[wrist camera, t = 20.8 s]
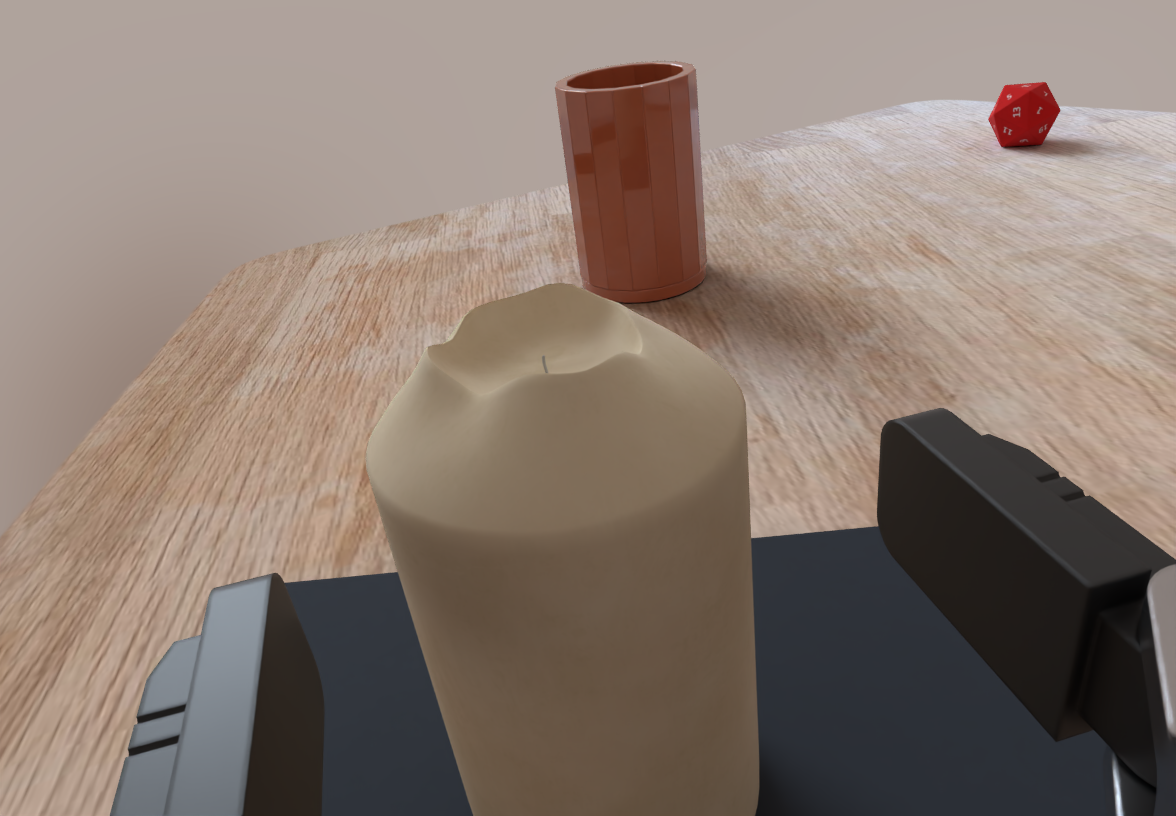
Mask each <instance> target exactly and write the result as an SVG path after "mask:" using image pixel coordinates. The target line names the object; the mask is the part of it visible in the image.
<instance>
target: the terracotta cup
mask: <svg viewBox="0 0 1176 816" xmlns="http://www.w3.org/2000/svg"><path fill="white" fill-rule="evenodd" d="M696 82H697V81H696V69H695V68H694V66H693V65H692V64H688V63H683V62H677V61H652V62H637V63H629V64H620V65H613V66H607V67H602V68H597V69H592V70H587V71H583V72H580V73H577V74H573V75H570V76H568V77H566V78H564V79H562V80H560V81H558V82H556V87H555V91H556V98H557V106H558V113H559V119H560V127H561V135H562V142H563V149H564V157H565V164H566V171H567V178H568V186H569V193H570V201H571V208H572V215H573V223H574V230H575V237H576V244H577V252H578V259H579V266H580V274H581V277H582V283H583V287H584V289H585V290H587V291H589V292H591V293H594V294H596V295H598V296H600V297H602V298H605V299H608V300H612V301H614V302H622V303H638V302H649V301H656V300H662V299H666V298H670V297H674V296H677V295H680V294H682V293H685V292H687V291H689V290H691V289H693V288H695V287H696V286H698V285H699V284H700V283H701V282H702V281H703V280H704V278H705V276H706V273H707V269H706V262H707V255H706V238H705V220H704V203H703V185H702V168H701V151H700V133H699V118H698V117H699V116H698V99H697V83H696Z"/></svg>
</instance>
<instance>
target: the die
mask: <svg viewBox="0 0 1176 816" xmlns="http://www.w3.org/2000/svg"><path fill="white" fill-rule="evenodd" d="M1059 112H1060V108H1059V106H1058V104H1057V102H1056V101H1055V99H1054V97H1053V95H1052V93H1051V91H1050V89H1049V87H1048V85H1047V83H1045V82H1042V83H1029V84H1014V85H1005V86H1004V88H1003V90H1002V92H1001V94H1000V96H999V98H998V100H997V102H996V104H995V107H994V109H993V111H992V113H991V115H990V117H989V119H988V120H989V122H990V124H991V126H992V128H993V130H994V133H995V135H996V137H997V139H998V141H999V143H1000V145H1001V147H1009V146H1027V145H1041V144H1042V143H1043V142H1044V140H1045V138H1046V136H1047V134H1048V132H1049V130H1050V129H1051V127H1052V125H1053V123H1054V121H1055V119H1056V118H1057V116H1058V114H1059Z"/></svg>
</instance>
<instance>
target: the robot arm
mask: <svg viewBox="0 0 1176 816" xmlns="http://www.w3.org/2000/svg"><path fill="white" fill-rule="evenodd" d="M877 519H878V525H879V529H880V533H881V536H882V539H883V541H884V543H885V545H886V547H887V549H888V551H889V553H890V554H891V556H892V557H893V558H894V559H895V560H896V562H897V563H898V564H899V565H900V566H901V567H902V568H903V570H904V571H905V572H906V573H907V574H908V575H909V576H910V577H911V579H912V580H913V581H914V582H915V583H916V584H917V585H918V587H919V588H920V589H921V590H922V591H923V592H924V593H925V594H926V596H927V597H928V598H929V599H930V600H931V601H932V602H933V603H934V605H935V606H936V607H937V608H938V609H939V610H940V611H941V613H942V614H943V615H944V616H945V617H946V618H947V619H948V620H949V622H950V623H951V624H952V625H953V626H954V627H955V628H956V630H957V631H958V632H959V633H960V634H961V635H962V636H963V637H964V639H965V640H966V641H967V642H968V643H969V644H970V645H971V646H972V648H973V649H974V650H975V651H976V652H977V653H978V654H979V656H980V657H981V658H982V659H983V660H984V661H985V662H986V663H987V665H988V666H989V667H990V668H991V669H992V670H993V671H994V673H995V674H996V675H997V676H998V677H999V678H1000V679H1001V680H1002V682H1003V683H1004V684H1005V685H1006V686H1007V687H1008V688H1009V690H1010V691H1011V692H1012V693H1013V694H1014V695H1015V696H1016V697H1017V699H1018V700H1019V701H1020V702H1021V703H1022V704H1023V705H1024V706H1025V708H1026V709H1027V710H1028V711H1029V712H1030V713H1031V714H1032V716H1033V717H1034V718H1035V719H1036V720H1037V721H1038V722H1039V723H1040V725H1041V726H1042V727H1043V728H1044V729H1045V730H1046V731H1047V733H1048V734H1049V735H1050V736H1051V737H1052V738H1053V739H1054V740H1055V742H1058V741H1062V740H1065V739H1068V738H1071V737H1074V736H1077V735H1080V734H1083V733H1087V732H1090V731H1093V730H1094V731H1095V732H1096V733H1097V734H1098V735H1099V736H1100V737H1101V738H1102V739H1103V740H1104V742H1105V743H1106V744H1107V745H1106V749H1105V753H1104V756H1103V776H1104V789H1105V802H1106V815H1107V816H1176V560H1175V559H1174V558H1173V557H1171V556H1170V555H1169V554H1167V553H1166V552H1165V551H1163V550H1162V549H1161V548H1159V547H1158V546H1157V545H1155V544H1154V543H1153V542H1151V541H1150V540H1149V539H1147V538H1146V537H1145V536H1143V535H1142V534H1141V533H1139V532H1138V531H1137V530H1135V529H1134V528H1133V527H1131V526H1130V525H1129V524H1127V523H1126V522H1125V521H1123V520H1122V519H1121V518H1119V517H1118V516H1117V515H1115V514H1114V513H1113V512H1111V511H1110V510H1109V509H1107V508H1106V507H1105V506H1103V505H1102V504H1101V503H1099V502H1098V501H1097V500H1095V499H1094V498H1093V497H1091V496H1085V495H1084V493H1083V490H1082V489H1080V488H1079V487H1078V486H1076V485H1075V484H1074V483H1072V482H1071V481H1070V480H1068V479H1067V478H1066V477H1060V476H1059V472H1058V471H1056V470H1055V469H1054V468H1052V467H1051V466H1050V465H1048V464H1047V463H1046V462H1044V461H1043V460H1042V459H1040V458H1039V457H1038V456H1036V455H1035V454H1034V453H1032V452H1031V451H1030V450H1028V449H1026V448H1023V447H1021V446H1018V445H1015V444H1013V443H1010V442H1008V441H1005V440H1003V439H1000V438H998V437H995V436H993V435H990V434H987V435H983V436H981V435H980V434H979V433H977V432H976V431H975V430H974V429H972V428H971V427H970V426H968V425H967V424H966V423H965V422H963V421H962V420H961V419H959V418H958V417H957V416H956V415H954V414H953V413H952V412H950V411H949V410H947V409H944V408H938V409H934V410H930V411H926V412H922V413H918V414H914V415H910V416H906V417H902V418H898V419H894V420H890V421H888V422H886V424H885V425H884V427H883V429H882V433H881V443H880V463H879V483H878V502H877ZM324 716H325V709H324V696H323V689H322V683H321V679H320V674H319V670H318V667H317V664H316V661H315V658H314V656H313V653H312V651H311V648H310V646H309V643H308V641H307V638H306V636H305V633H304V631H303V628H302V626H301V623H300V621H299V618H298V616H297V613H296V611H295V608H294V606H293V603H292V601H291V598H290V596H289V593H288V591H287V588H286V586H285V583H284V581H283V580H282V578H281V577H280V575H279V574H278V573H273V574H269V575H265V576H261V577H257V578H253V579H249V580H245V581H241V582H237V583H233V584H229V585H225V586H221V587H217V588H214V589H213V590H212V591H211V593H210V595H209V599H208V604H207V608H206V613H205V618H204V623H203V627H202V632H201V635H199V636H195V637H192V638H188V639H184V640H180V641H176V642H174V643H173V644H172V646H171V647H170V648H169V650H168V651H167V652H166V654H165V655H164V656H163V658H162V659H161V661H160V662H159V663H158V665H157V666H156V667H155V669H154V670H153V672H152V673H151V674H150V676H149V677H148V678H147V681H146V684H145V688H144V692H143V695H142V699H141V703H140V706H139V710H138V714H137V721H138V724H136V725H134V728H133V732H132V736H131V739H130V743H129V747H128V751H129V757H126V758H125V761H124V765H123V769H122V772H121V776H120V780H119V784H118V787H117V791H116V795H115V798H114V802H113V806H112V809H111V813H110V816H322V783H323V749H324Z"/></svg>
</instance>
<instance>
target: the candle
mask: <svg viewBox="0 0 1176 816" xmlns="http://www.w3.org/2000/svg"><path fill="white" fill-rule="evenodd" d="M366 468H367V473H368V476H369V480H370V483H371V486H372V490H373V493H374V496H375V499H376V503H377V506H378V509H379V512H380V516H381V519H382V522H383V525H384V529H385V532H386V535H387V538H388V542H389V545H390V548H391V551H392V555H393V558H394V561H395V564H396V568H397V571H398V574H399V577H400V581H401V584H402V587H403V590H404V594H405V597H406V600H407V603H408V607H409V610H410V613H411V616H412V620H413V623H414V626H415V629H416V633H417V636H418V639H419V642H420V646H421V649H422V652H423V655H424V658H425V662H426V665H427V668H428V671H429V675H430V678H431V681H432V684H433V688H434V691H435V694H436V697H437V701H438V704H439V707H440V710H441V714H442V717H443V720H444V723H445V727H446V730H447V733H448V736H449V740H450V743H451V746H452V749H453V753H454V756H455V759H456V762H457V766H458V769H459V772H460V775H461V779H462V782H463V785H464V788H465V791H466V795H467V798H468V801H469V804H470V807H471V810H472V813H473V816H755V814H756V809H757V805H758V796H759V740H758V714H757V687H756V660H755V633H754V606H753V580H752V553H751V526H750V499H749V472H748V446H747V423H746V404H745V400H744V397H743V393H742V390H741V389H740V387H739V385H738V384H737V382H736V380H735V379H734V378H733V377H732V376H731V375H730V373H729V372H728V371H727V370H726V369H725V368H724V367H722V366H721V365H720V364H719V363H717V362H716V361H715V360H713V359H712V358H711V357H710V356H708V355H707V354H706V353H704V352H703V351H702V350H700V349H699V348H698V347H696V346H695V345H693V344H692V343H690V342H688V341H687V340H685V339H684V338H682V337H681V336H679V335H677V334H675V333H674V332H672V331H670V330H668V329H666V328H664V327H662V326H661V325H659V324H657V323H655V322H653V321H651V320H649V319H647V318H645V317H643V316H641V315H639V314H637V313H635V312H633V311H632V310H630V309H628V308H627V307H625V306H623V305H622V304H620V303H617V302H614V301H612V300H608V299H605V298H602V297H600V296H598V295H596V294H594V293H591V292H589V291H587V290H585V289H582V288H580V287H577V286H575V285H572V284H564V283H555V284H548V285H545V286H542V287H539V288H536V289H534V290H531V291H528V292H526V293H522V294H519V295H516V296H512V297H508V298H504V299H500V300H496V301H493V302H489V303H486V304H483V305H481V306H478V307H476V308H474V309H472V310H470V311H469V312H468V313H467V314H466V315H465V316H464V317H463V318H462V319H461V321H460V322H459V324H458V325H457V327H456V328H455V330H454V331H453V333H452V334H451V335H450V337H449V338H448V339H447V341H446V342H445V343H442V344H439V345H432V346H429V347H427V348H425V351H424V353H423V355H422V357H421V359H420V361H419V363H418V365H417V367H416V368H415V370H414V371H413V373H412V374H411V376H410V378H409V379H408V380H407V381H406V383H405V384H404V385H403V387H402V388H401V389H400V391H399V392H398V393H397V395H396V396H395V398H394V399H393V400H392V402H391V403H390V405H389V406H388V408H387V409H386V411H385V412H384V414H383V415H382V417H381V418H380V420H379V422H378V423H377V425H376V426H375V428H374V430H373V432H372V434H371V437H370V439H369V442H368V445H367V451H366Z"/></svg>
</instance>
